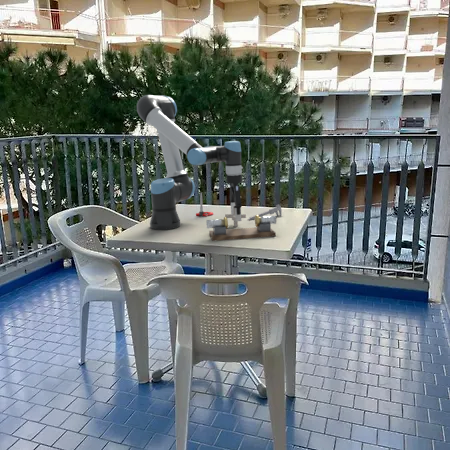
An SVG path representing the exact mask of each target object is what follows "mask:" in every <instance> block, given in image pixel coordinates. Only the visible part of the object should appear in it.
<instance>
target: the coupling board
mask: <svg viewBox="0 0 450 450" xmlns="http://www.w3.org/2000/svg"><path fill="white" fill-rule="evenodd" d="M208 231H209V236H210V238H211V241H212V242H213V241H214V242H215V240H216V241H223V240H224V241H226V240H228V241H229V240H238V239H239V240H241V239H255V238H267V237H276V235H277V234H276V232H275V231H274V229H273V228H271V231H269V232H259V231H258V230H257V227H256V226H255V227H245V228H243V227H242V228H229V229H226V235H214V232H213V230H208Z"/></svg>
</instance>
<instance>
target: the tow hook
mask: <svg viewBox="0 0 450 450" xmlns="http://www.w3.org/2000/svg"><path fill="white" fill-rule="evenodd" d="M199 194H200V196H199V199H200V200H199V201H200V202H199V205H200V206H199V212H198V213H197V212H196V213H195V217H198V216H199V217H208V216H213V215H214V212H212V211H204V206H203V192H200V193H199ZM205 213H208V214H205Z"/></svg>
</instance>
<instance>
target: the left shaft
mask: <svg viewBox="0 0 450 450" xmlns="http://www.w3.org/2000/svg"><path fill="white" fill-rule="evenodd" d="M228 228H229V219H228V218H227V217H225V216H224V217H223V218H221V219H206V229H212V231H213V232H214V235H226V230H227V229H228Z"/></svg>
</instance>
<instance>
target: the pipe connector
mask: <svg viewBox="0 0 450 450" xmlns="http://www.w3.org/2000/svg"><path fill="white" fill-rule="evenodd" d="M224 217H227V219H231V220H232V221H233V227H235V228H237V227H238V225H239V224H238V222H239V221H236V220H235V208H234V206H233V214H231V213H227V214H226V213H225V214H224ZM246 218H247V215H246V214H243V213H241V219H246Z"/></svg>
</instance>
